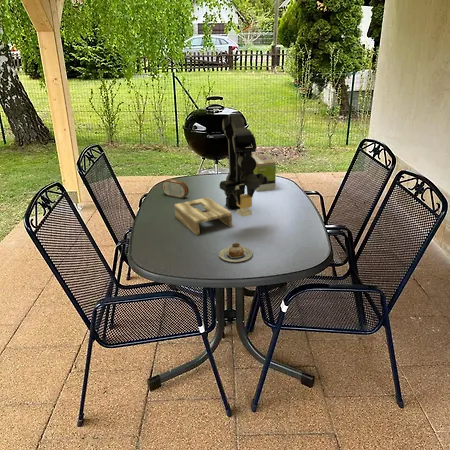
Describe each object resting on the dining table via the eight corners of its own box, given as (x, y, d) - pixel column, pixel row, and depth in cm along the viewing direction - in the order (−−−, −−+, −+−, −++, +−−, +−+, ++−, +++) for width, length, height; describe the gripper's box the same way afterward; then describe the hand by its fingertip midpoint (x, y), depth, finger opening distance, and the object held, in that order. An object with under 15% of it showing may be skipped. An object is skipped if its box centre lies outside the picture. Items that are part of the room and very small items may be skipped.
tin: (189, 198, 211) (188, 181, 208) (185, 200, 209) (184, 183, 206) (165, 193, 219) (164, 177, 216) (161, 195, 217) (160, 179, 213)
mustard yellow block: (246, 211, 175) (246, 193, 172) (252, 214, 172) (251, 196, 169) (236, 213, 174) (236, 195, 171) (242, 217, 170) (242, 199, 167)
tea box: (248, 183, 229) (248, 156, 223) (266, 181, 231) (266, 154, 225) (257, 192, 216) (256, 163, 210) (276, 190, 218) (276, 161, 212)
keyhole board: (208, 209, 196) (207, 197, 194) (232, 226, 178) (231, 212, 176) (175, 217, 189) (174, 204, 187) (196, 235, 171) (195, 221, 169)
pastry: (256, 262, 150) (256, 250, 149) (222, 266, 148) (222, 254, 146) (247, 247, 161) (247, 236, 159) (216, 251, 159) (215, 239, 157)
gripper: (232, 174, 154) (233, 214, 160) (276, 165, 162) (275, 204, 168) (218, 167, 163) (219, 205, 169) (259, 159, 171) (259, 196, 177)
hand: (244, 203), depth 171 cm, fingers closed on mustard yellow block, 4 cm apart
